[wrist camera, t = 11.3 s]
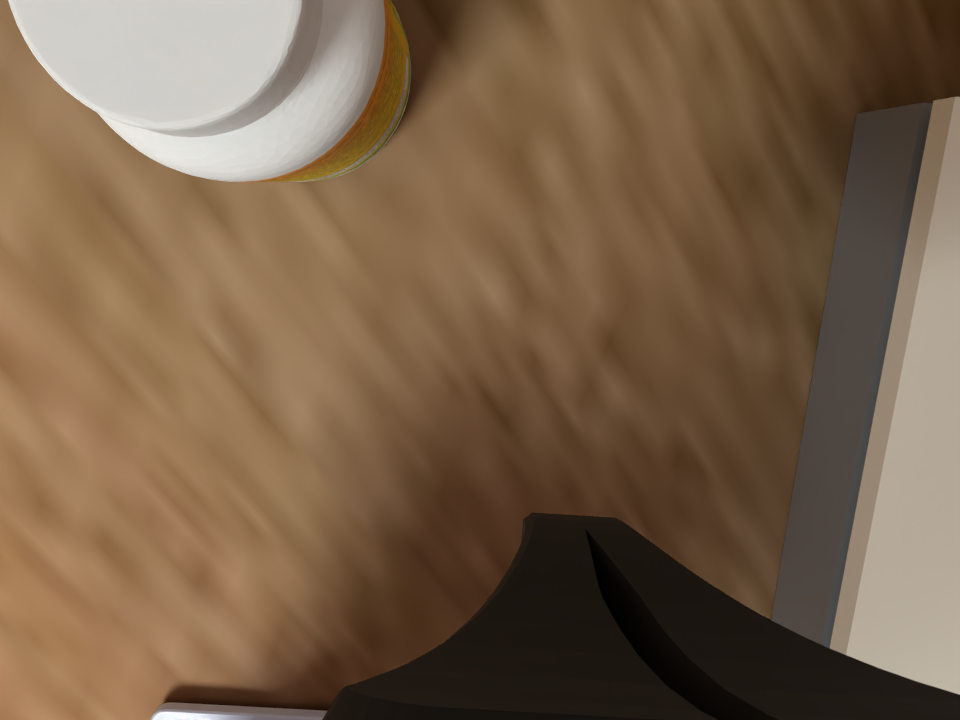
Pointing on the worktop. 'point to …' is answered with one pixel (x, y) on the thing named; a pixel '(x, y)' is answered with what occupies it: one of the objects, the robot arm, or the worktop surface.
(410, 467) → the worktop surface
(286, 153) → the supplement bottle
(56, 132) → the worktop surface
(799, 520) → the cable duct
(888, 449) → the panel
